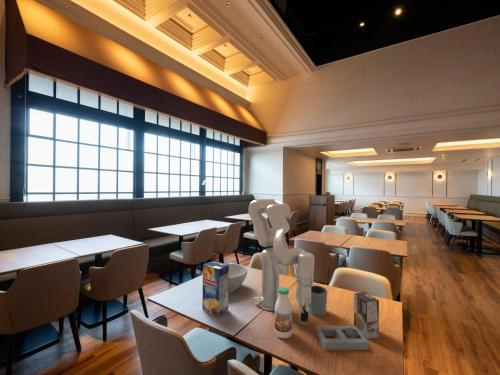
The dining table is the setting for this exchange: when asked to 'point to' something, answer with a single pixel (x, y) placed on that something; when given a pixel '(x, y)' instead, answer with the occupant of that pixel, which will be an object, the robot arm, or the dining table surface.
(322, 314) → the grey green cup
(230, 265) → the decorative bowl
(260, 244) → the robot arm
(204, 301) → the juice carton
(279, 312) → the milk bottle
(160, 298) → the dining table surface
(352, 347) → the frame
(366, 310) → the coffee box
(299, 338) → the dining table surface
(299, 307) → the brass cylinder
